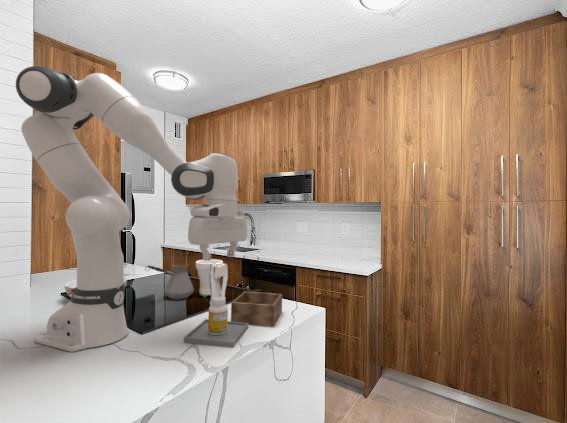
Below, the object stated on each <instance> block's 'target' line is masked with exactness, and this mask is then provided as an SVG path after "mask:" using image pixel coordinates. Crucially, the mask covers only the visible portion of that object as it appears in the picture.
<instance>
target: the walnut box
mask: <svg viewBox="0 0 567 423" xmlns="http://www.w3.org/2000/svg"><path fill="white" fill-rule="evenodd" d="M230 304H231V305H230V322H241V323H248V326H260V327H261V326H262V327H271V328H272V327H273V328H274V327H275V326H276V323H277V322H278V320H279V318H280V316H281V314H282V313H283V294H282V293H275V292H274V293H272V292H261V291H260V292H259V291H257V292H256V291H249V290H248V291H246V290H245V291H243V292H242V293H240V295H238V296H237V297H236V298H234V299H233V301H231V303H230Z"/></svg>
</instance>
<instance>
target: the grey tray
mask: <svg viewBox="0 0 567 423" xmlns="http://www.w3.org/2000/svg"><path fill="white" fill-rule="evenodd" d="M208 319H209V318H205V319H203V321H202V322H200V323H199V324H198V325H197V326H196V327H194V328H193V329H192V330H191V331H190V332H188V333H187V334H185V335H184V336H183V343H184V344H186V343H189V344H196V345H204V346H211V347H215V346H216V347H224V348H231V349H232V348H235V346H236V344H237V343H238V342H239V341H240V339H241V338H242V337H243V335H244V334H245V332H246V331H247V330H248V329H249V325H248V323H241V322H231V320H230V321H229V320H228V321H227V332H226V333H225V334H222V335H211V334H209V332H208Z"/></svg>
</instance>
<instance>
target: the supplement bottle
mask: <svg viewBox="0 0 567 423" xmlns="http://www.w3.org/2000/svg"><path fill="white" fill-rule="evenodd" d="M226 299H227V298H226V296H225V297H220V296H219V297H213V298H212V301H211V304H212V305H210V306H209V307H208V318H207V319H208V332H209V334H211V335H222V334H225V333H226V332H227V321H229V320H228V317H229V316H228V313H229V308H228V305H227V304H225V302H226Z"/></svg>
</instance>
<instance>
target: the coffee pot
mask: <svg viewBox="0 0 567 423" xmlns="http://www.w3.org/2000/svg"><path fill="white" fill-rule="evenodd" d="M188 267H189V264H185V263H177V264H171V268H172V270H173V271H169V270H165V269H163V268H160V267H157V266H155V265H147V266H146V267H144V268H145V269H144V271H147V272H148V271H150V269H151V270H154V271H157V272H160V273H165V274H168V275H170V277H169V279H168V282H167V284H166V286H165V288H164V294H165V295H166V296H167V297H168V298H169V299H170V300H175V301H176V300H177V301H178V300H185V299H188V298H189V297H190V296H191V295H192V294H194V291H195V287H194V286H193V283H192V280H191V278H190V276H189V273H188ZM146 268H148V270H147V269H146Z"/></svg>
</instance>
